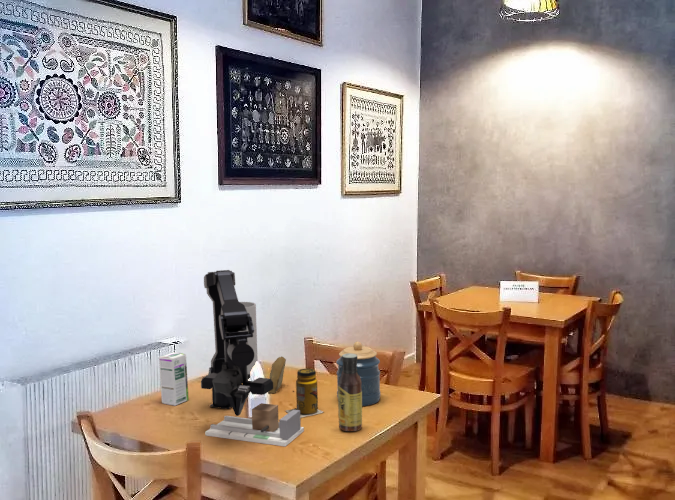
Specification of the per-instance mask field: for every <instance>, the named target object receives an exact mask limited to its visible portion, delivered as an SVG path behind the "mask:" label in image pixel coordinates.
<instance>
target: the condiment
mask: <svg viewBox="0 0 675 500" xmlns="http://www.w3.org/2000/svg"><path fill="white" fill-rule="evenodd" d="M316 373H317V371H316V370H315V369H314V368H300V369H298V370H297V372H296V374H297V375H296V380H295V388H296V389H295V393H296V395H295V396H296V397H295V398H296V399H295V400H296V408H292V409H285V412H286V413H287V414H288V413H289V412H291V411H292V410H300V419H301V418H305V417H310V416H314V415H319V414H322V413H324V411H323V410H320V409H319V407H318V406H319V405H318V403H319V402H318V401H319V399H318V398H319V397H318V380H317V375H316Z"/></svg>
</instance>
